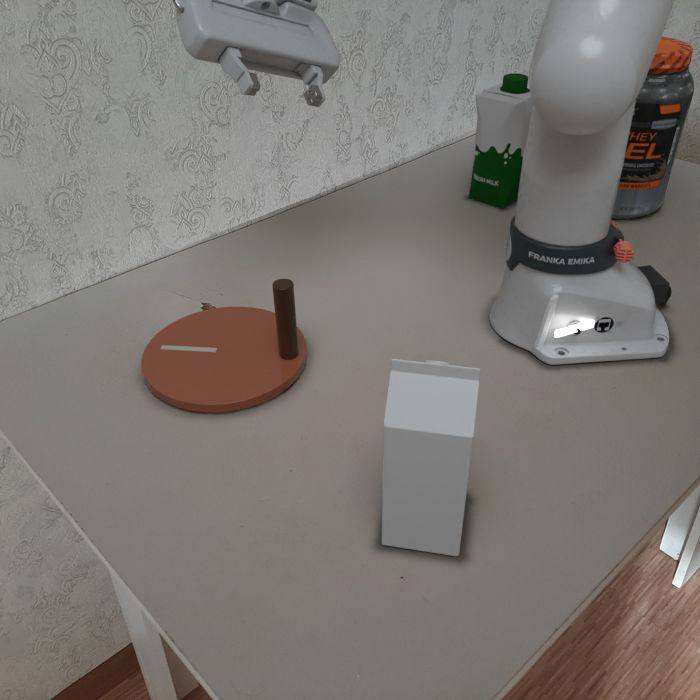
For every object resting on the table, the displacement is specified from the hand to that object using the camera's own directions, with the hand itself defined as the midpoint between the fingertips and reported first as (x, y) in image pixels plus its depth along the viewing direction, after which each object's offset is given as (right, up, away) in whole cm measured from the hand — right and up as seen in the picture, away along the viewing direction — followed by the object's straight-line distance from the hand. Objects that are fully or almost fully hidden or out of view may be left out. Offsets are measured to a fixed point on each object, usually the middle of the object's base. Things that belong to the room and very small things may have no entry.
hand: (286, 97), depth 79 cm
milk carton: (+14, -44, -11) cm, 48 cm away
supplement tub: (+53, -3, +44) cm, 69 cm away
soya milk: (+33, -1, +47) cm, 57 cm away
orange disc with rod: (-8, -29, +10) cm, 32 cm away
